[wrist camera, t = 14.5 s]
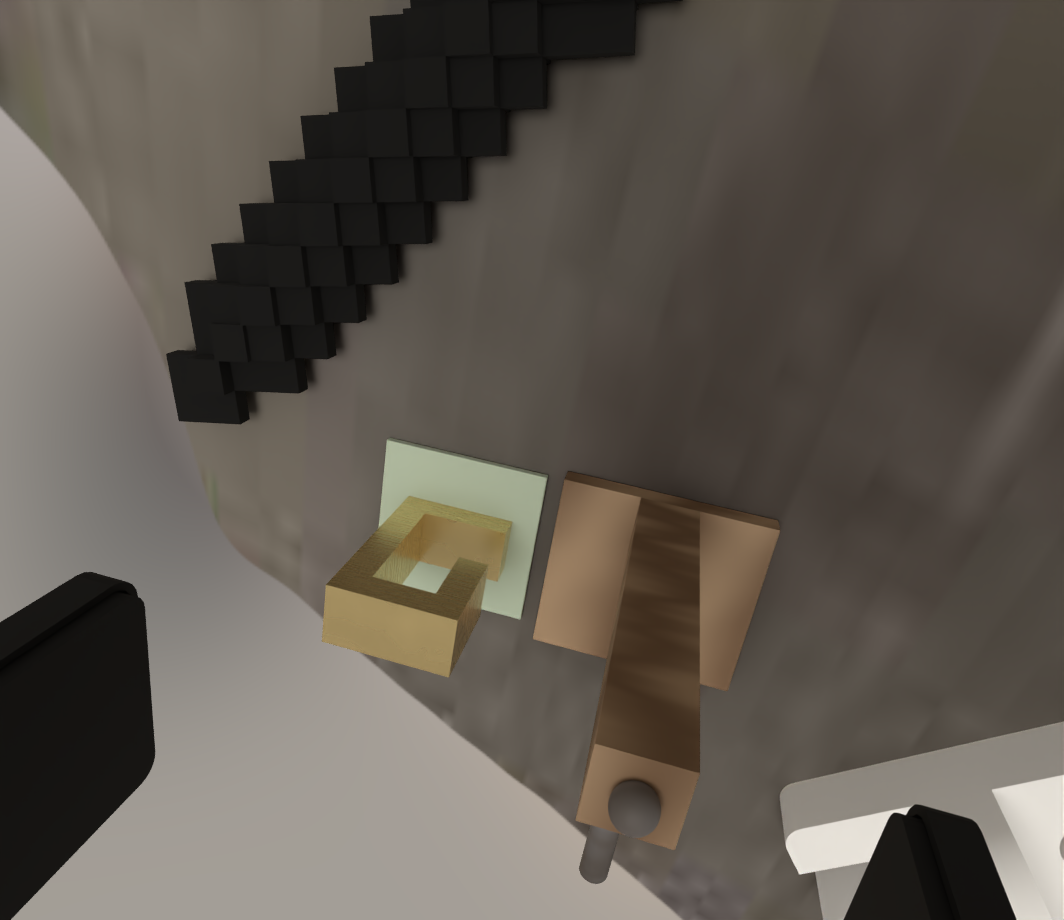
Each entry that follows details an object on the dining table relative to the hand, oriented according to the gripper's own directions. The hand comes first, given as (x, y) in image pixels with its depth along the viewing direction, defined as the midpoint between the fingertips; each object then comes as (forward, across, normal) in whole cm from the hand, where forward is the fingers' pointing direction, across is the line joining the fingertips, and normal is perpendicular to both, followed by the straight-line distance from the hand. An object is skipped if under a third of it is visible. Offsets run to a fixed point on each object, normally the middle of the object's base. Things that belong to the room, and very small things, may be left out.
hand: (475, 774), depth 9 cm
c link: (+28, +9, +13) cm, 33 cm away
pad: (+29, +9, +13) cm, 33 cm away
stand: (+29, -2, +13) cm, 32 cm away
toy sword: (+30, +12, -8) cm, 33 cm away
